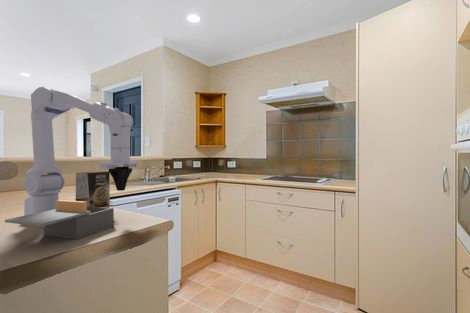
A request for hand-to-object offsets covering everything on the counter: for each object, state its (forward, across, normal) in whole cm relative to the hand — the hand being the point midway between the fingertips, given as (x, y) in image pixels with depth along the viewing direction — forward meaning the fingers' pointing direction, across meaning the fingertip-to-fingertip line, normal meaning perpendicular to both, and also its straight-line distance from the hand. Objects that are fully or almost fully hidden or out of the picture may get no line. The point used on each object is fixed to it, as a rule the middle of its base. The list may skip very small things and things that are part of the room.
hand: (120, 190), depth 75 cm
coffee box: (+11, +3, +15) cm, 19 cm away
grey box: (+10, -10, +5) cm, 15 cm away
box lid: (+5, -18, +5) cm, 19 cm away
